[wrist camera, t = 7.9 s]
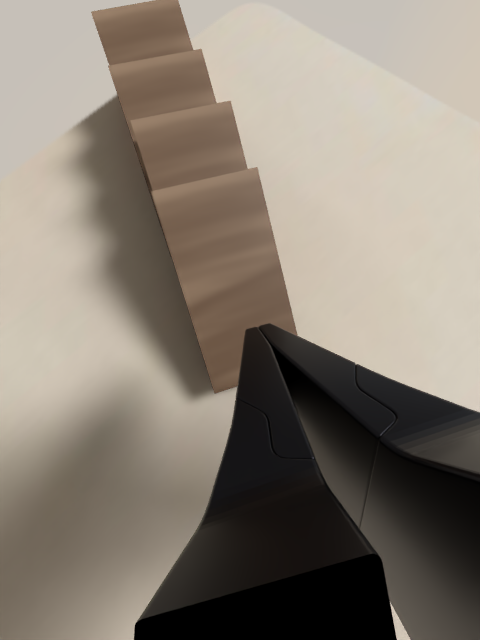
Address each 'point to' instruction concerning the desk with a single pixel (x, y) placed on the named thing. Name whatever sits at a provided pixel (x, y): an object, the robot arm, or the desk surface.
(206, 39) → the desk surface
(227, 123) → the domino
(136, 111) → the domino
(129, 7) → the domino
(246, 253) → the domino
